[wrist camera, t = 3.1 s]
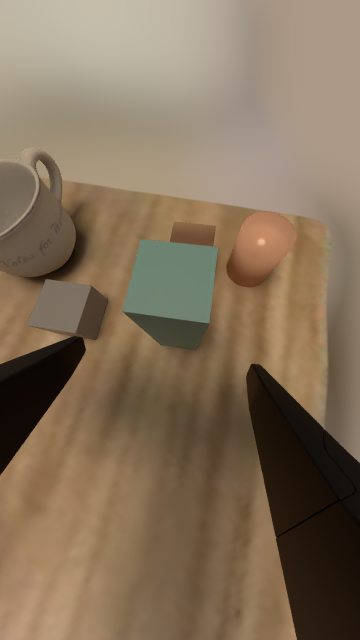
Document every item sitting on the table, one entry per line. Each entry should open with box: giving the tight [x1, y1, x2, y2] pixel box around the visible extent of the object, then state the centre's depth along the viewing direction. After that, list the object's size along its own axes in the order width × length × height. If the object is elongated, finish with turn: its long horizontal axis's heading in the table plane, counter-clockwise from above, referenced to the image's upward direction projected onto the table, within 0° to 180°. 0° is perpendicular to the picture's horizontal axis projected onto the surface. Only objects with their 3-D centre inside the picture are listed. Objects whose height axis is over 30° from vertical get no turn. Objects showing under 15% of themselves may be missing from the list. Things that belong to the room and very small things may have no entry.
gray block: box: [27, 279, 108, 340], centre depth 19 cm, size 5×5×4 cm
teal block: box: [122, 239, 218, 350], centre depth 14 cm, size 4×4×12 cm
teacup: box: [0, 148, 76, 277], centre depth 20 cm, size 14×11×8 cm
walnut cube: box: [170, 222, 216, 247], centre depth 20 cm, size 4×4×4 cm
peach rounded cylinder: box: [227, 212, 297, 287], centre depth 19 cm, size 5×5×6 cm
